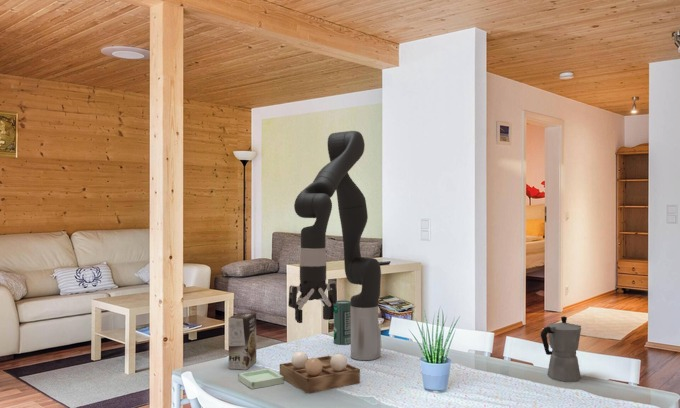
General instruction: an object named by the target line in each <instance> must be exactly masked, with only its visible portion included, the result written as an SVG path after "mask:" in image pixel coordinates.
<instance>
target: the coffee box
mask: <svg viewBox="0 0 680 408" xmlns="http://www.w3.org/2000/svg"><path fill="white" fill-rule="evenodd" d="M227 339H228V369H230V370H231V369H232V370H242V371H246V370H248V369H250V368H251V367H252V366H253V365H255V364H256V363H257V313H256V312H238V313H236V314H233V315H232V316H229V317H228V338H227Z"/></svg>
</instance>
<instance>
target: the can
mask: <svg viewBox="0 0 680 408" xmlns="http://www.w3.org/2000/svg"><path fill="white" fill-rule="evenodd" d="M350 301H351V300H344V299H343V300H337V302H336V304H333V344H334V345H337V346H346V345H351V305H350Z"/></svg>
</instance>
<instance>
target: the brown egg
mask: <svg viewBox="0 0 680 408" xmlns="http://www.w3.org/2000/svg"><path fill="white" fill-rule="evenodd" d="M317 358H318V357H311V358H308V359H309V360H308V361H307V362H306V364H305V370H306V372H307V373H308V374H309V375H311V376H317V375H319V374H320V373H321V371H322V368H323V365H322V362H321V361H320V360H319V359H317Z"/></svg>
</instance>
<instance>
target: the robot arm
mask: <svg viewBox="0 0 680 408" xmlns="http://www.w3.org/2000/svg"><path fill="white" fill-rule="evenodd" d="M327 152H328V156H329V157H328V158H329V162H328V163H327V164H326V165H324V166H323V167H322V168H321V169H320V170H319V172H318V173H317V175H315V178H314V179H313V181H312V183H310V184H308V185H307V186H306V187H305V188H303V190H301V191H300V192H299V194H298V195H297V196H296V198H295V201H294V203H293V204H294V205H293V207H294V212H295V214H296V215H297V216H298V217H300V218H304V219H315V222H314V223H313V224H312V225H310V226H305V227H303V228H301V231H300V251H299V252H300V253H299V285H289V287H288V291H289V292H288V307H290V308H292V309H294V316H295V317H294V320H295V321H296V323H299V324H303V307H304V306H305V304H307V302H308V301H313V300H318V301H319V300H320V302H321V303H322V304H323V305H322V318H323V320H324V321H328V320H329V319H330V317H331V306H334V304H336V302H337V301H338V300H337V285H336V283H334V282H330V281H329V282H328V283H327V282H326V280H327V250H326V249H327V248H326V240H327V239H326V233H327V228H328V224H329V221H330V217H331V214H332V209H333V203H332V199H331V198H332V197H333V196H334V194H335V192H336V198H337V208H338V215H339V221H340V226H341V234H342V243H343V258H344V259H343V260H344V263H343V264H344V274H345V277H346V280H347V282H349V283H351V284H353V285H360V286H361V289H360V293H358V294H355V295H352V296H351V297H350V300H349V301H350V305H351V344H350V357H351V358H352V359H354V360H356V361H357V360H359V361H372V360H376V359H378V358H380V357H382V351H381V350H382V349H381V348H382V340H381V339H382V334H381V332H382V329H381V328H380V327H379V299H380V296H381V283H382V282H381V281H382V279H381V277H382V271H381V270H382V269H381V264H380V262H379V260H378V259H376V258H373V257H365V256H364V257H363V256H362V255H361V245H360V243H361V238H362V235H363V233H364V231H365V228H366V226H367V223H368V219H369V218H368V207H367V200H366V197H365V196H364V193H363V192H362V191H361V189H360V188H359V187H358V185H357V184H356V183H355V181H353V179H352V178H351V176H350V174H349V171H351V169H352V168H353V167H354V165H355V164H357V162H358V161H360V159H361V158H362V156H363V155H364V152H365V140H364V136H363V135H362V133H361V132H360V131H357V130H348V131H347V130H346V131H340V132H339V131H338V132H333V133H330V134H329V136H328V137H327ZM326 291H328V294H326ZM299 292H300V294H299V296H298V293H299ZM327 295H328V296H327ZM297 296H298V297H297Z"/></svg>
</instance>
